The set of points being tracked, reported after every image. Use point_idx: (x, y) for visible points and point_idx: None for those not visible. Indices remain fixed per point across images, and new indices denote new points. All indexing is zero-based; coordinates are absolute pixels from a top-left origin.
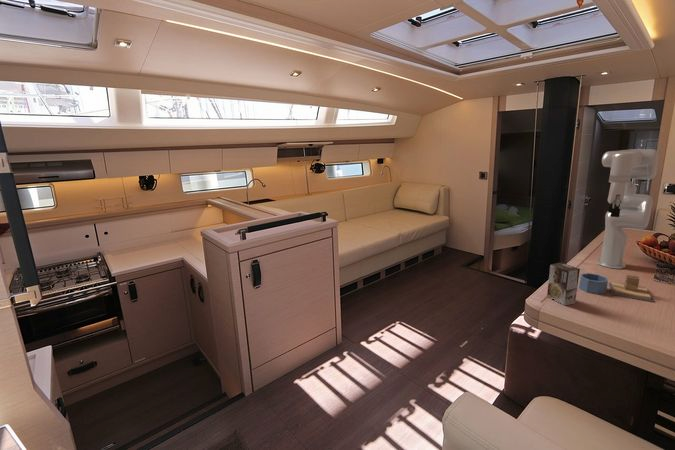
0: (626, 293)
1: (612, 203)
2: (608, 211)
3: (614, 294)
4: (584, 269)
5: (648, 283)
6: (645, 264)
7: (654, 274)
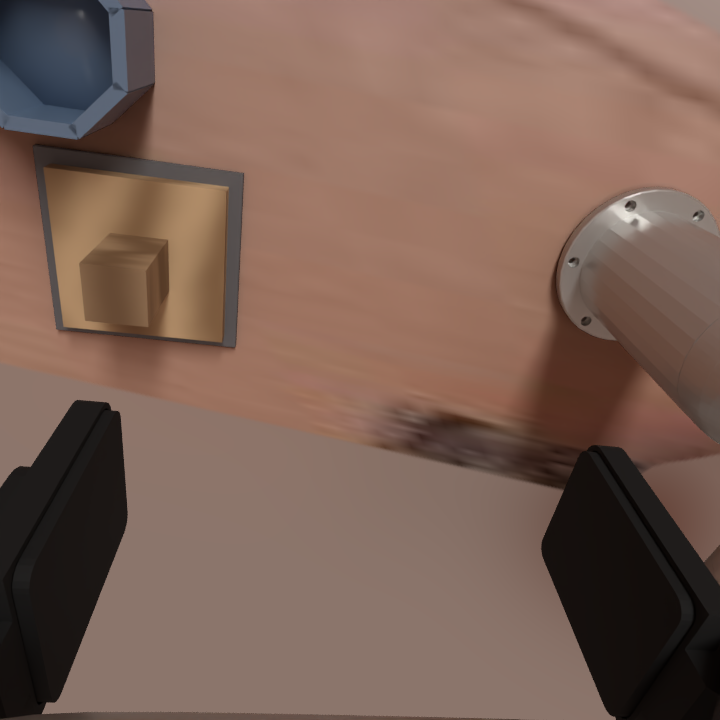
0: (51, 224)
1: (714, 708)
2: (614, 457)
3: (34, 159)
4: (501, 69)
5: (347, 372)
6: (662, 431)
7: (503, 428)
